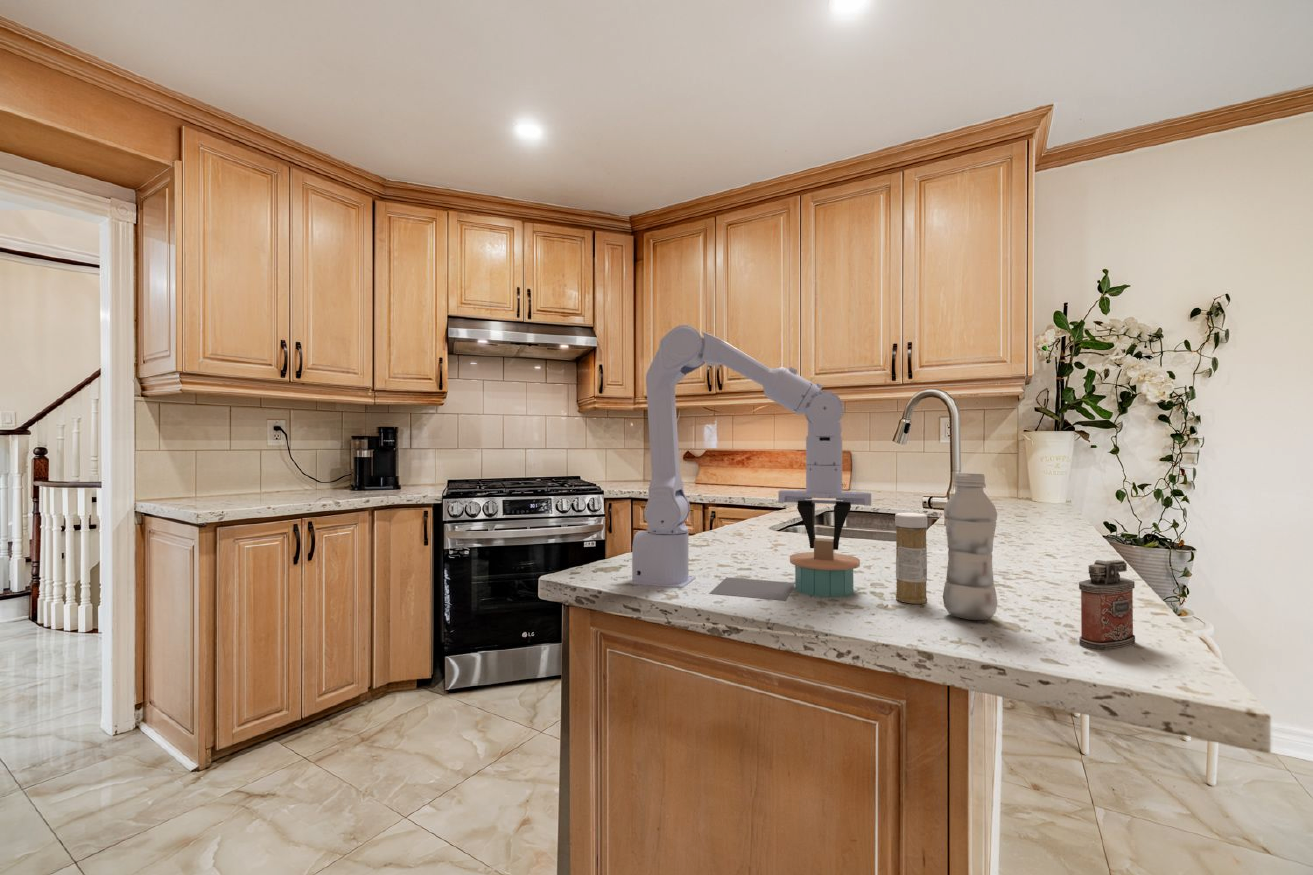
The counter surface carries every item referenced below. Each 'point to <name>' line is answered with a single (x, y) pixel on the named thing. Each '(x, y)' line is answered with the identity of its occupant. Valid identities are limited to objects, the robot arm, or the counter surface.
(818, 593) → the bowl
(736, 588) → the mat
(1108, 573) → the lighter
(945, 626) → the counter surface
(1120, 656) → the counter surface
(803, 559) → the lid
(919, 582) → the sprinkles bottle
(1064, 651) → the counter surface
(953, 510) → the plastic bottle
